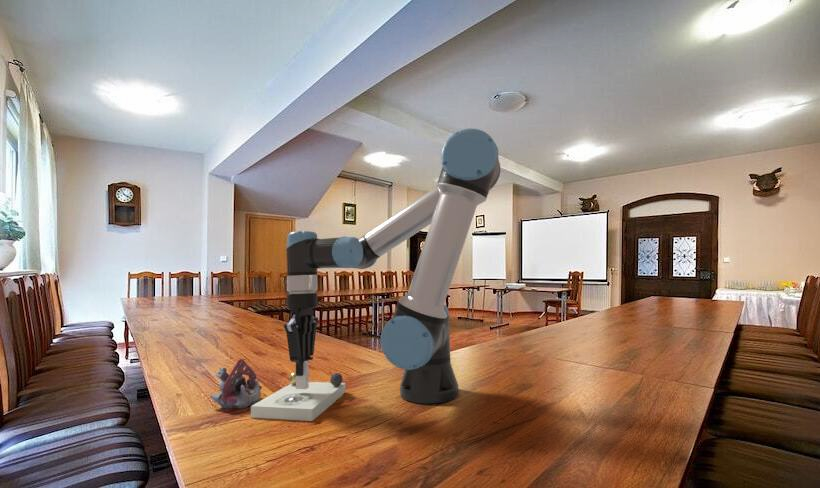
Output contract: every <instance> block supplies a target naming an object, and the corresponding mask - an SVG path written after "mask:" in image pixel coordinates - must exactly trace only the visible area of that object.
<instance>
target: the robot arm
mask: <svg viewBox="0 0 820 488" xmlns="http://www.w3.org/2000/svg"><path fill="white" fill-rule="evenodd" d="M440 154H441V157H440V160H441V166H442V168H441V170H440V173H439V177H438V179H437V183H436V186H434V187H433V188H432V189H431V190H429V191H427V192H426V193H425V194H423V195H421V196H420V197H418V198H417V199H416V200H414V201H412V202H411V203H409V204H408V205H406V206H405V207H404V208H402V209H401V210H399V211H398V212H396V213H395V214H394V215H392V216H391V217H389V218H387V219H386V220H385V221H383V222H381V223H380V224H378V225H377V226H376V227H374V228H373V229H371V230H370V231H368V232H367V233H365V234H364V235H363V236H361V237H359V238H358V237H355V236H340V237H328V238H318V234H317V233H316V232H314V231H308V230H302V231H301V230H298V231H290V233H288V234H287V238H286V248H285V251H286V291H287V292H289V293H287V295H286V308H287V310H291V311H290V315H289V316H290V317H289V318H290V320H289V322H284V325H283V327H284V330H285V333H286V339H287V347H288V348H287V349H288V355H289V360H290V362H292V363H295V372H296V389H307V388H309V382H310V380H309V378H310V377H309V375H310V374H309V371H310V369H309V368H310V367H309V362H310V361H312V360H313V359H314V354H315V343H316V334H317V325H318V322H319V318H318V317H317V316H316V317H315V316H314V310H313V309H314V308H315V309H316V308H317V307H318V293H317V292H316V291H318V289H319V288H318V287H319V285H318V269H358V270H365V269H368V268H370V267H371V268H372V267H373V266H374V264H376V262H377V260H378V259H379V258H380V257H382V256H384V255H385V254H387V253H388V252H389V251H392V250H393V249H394V248H396V247H397V246H399V245H401V244H402V243H404V242H405V241H407V240H408V239H410V238H411V237H413V236H414V235H416V234H417V233H418V232H420V231H422V230H424V229H425V228H427V227H428V226H429V228H428V232H427V235H426V238H425V239H424V243H423V246H422V248H421V249H422V250H421V251H420V255H419V257H418V261H417V264H416V268H415V271H414V273H413V275H412V280H411V282H410V285H409V289H408V291H407V294H406V295H404V296H401V297H400V298H398V300H397V304H396V307H395V308H394V309H395V310H394V311H393V316H392V317H391V318H390V319H389V320H388V321H387V322H386V324H385V325H384V326H383V328H382V330H381V334H380V347H381V350H382V352H383V355H384V357H385V358H386V360H387V361H389V363H391V364H392V365H393V366H395V367H396V368H398V369H401V370H403V374H402V379H401V381H400V384H399V385H400V387H399V390H400V393H399V396H400V397H401V398H402V399H403V400H404V401H407V402H411V403H416V404H424V405H425V404H427V405H429V404H442V403H447V402H450V401H452V400H454V399H456V398H457V397H458V396H459V384H458V380H457V378H456V375H455V371H454V368H453V367H452V366H453V365H452V361H451V340H450V339H451V337H450V314H449V308H448V306H446V305H445V302H446V299H447V296H448V293H449V291H450V287H451V285H452V281H453V279H454V275H455V273H456V271H457V270H456V269H457V266H458V264H459V261H460V257H461V254H462V251H463V249H464V245H465V242H466V241H467V240H466V239H467V236H468V234H469V230H470V227H471V224H472V221H473V219H474V215H475V213H476V209H477V207H478V206H479V205H481V204H483V203H485V202H486V200H487V198H488V195H489V192H490V191H491V190H492V189H493V188H494V187H495V186H496V184H497V182H498V181H499V178H500V176H501V175H500V174H501V164H500V160H499V148H498V146H497V144H496V142H495V140H494V139H493V138H492V137H491V136H490V134H489V133H487V132H486V131H484V130H481V129H478V128H471V127H470V128H464V129H460V130H459V131H456V132H455V133H453V134H452V135H450V136H449V137H448V138H447V140H446V141H445V142H444V144H443V146H442V149H441V153H440Z"/></svg>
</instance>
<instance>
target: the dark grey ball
mask: <svg viewBox="0 0 820 488" xmlns="http://www.w3.org/2000/svg"><path fill="white" fill-rule="evenodd" d="M329 383H331V384H332V385H334V386H339V385H340V384H341V383H343V375H342V374H341V373H338V372H336V373H333V374H332V375H331V376H330V382H329Z"/></svg>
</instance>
